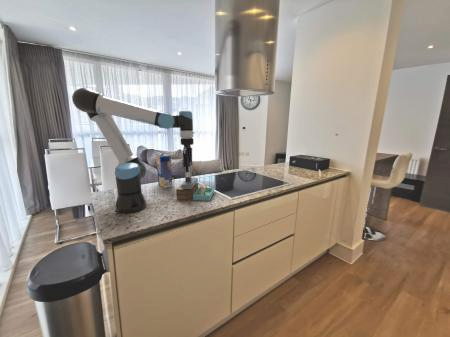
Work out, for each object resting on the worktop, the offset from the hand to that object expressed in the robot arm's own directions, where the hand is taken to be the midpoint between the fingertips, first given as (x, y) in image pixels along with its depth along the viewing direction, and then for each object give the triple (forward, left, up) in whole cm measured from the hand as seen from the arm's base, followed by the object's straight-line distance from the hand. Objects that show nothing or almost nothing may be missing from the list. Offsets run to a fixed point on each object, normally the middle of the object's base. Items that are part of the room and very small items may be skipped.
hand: (188, 176), depth 128 cm
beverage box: (+20, +24, -13) cm, 34 cm away
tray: (0, -9, -12) cm, 16 cm away
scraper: (0, -1, -6) cm, 6 cm away
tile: (0, -7, -8) cm, 11 cm away
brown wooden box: (0, +1, -12) cm, 12 cm away
